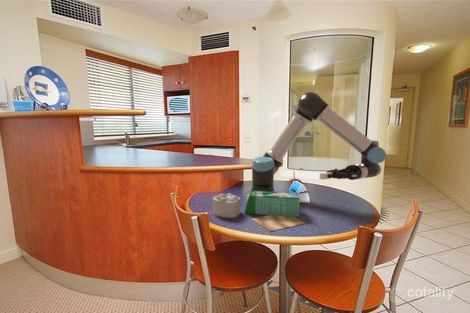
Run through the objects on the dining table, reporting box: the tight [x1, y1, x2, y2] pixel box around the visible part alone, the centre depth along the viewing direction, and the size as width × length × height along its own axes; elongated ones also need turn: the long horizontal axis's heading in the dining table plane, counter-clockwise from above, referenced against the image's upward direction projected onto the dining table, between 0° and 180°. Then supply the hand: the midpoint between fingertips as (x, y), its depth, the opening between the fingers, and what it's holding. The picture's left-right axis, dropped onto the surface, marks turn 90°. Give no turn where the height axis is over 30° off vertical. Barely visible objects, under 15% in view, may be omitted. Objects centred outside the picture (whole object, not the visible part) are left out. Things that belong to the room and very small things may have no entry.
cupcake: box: [288, 171, 303, 187], centre depth 156 cm, size 9×8×12 cm
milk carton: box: [244, 190, 300, 218], centre depth 117 cm, size 9×9×25 cm
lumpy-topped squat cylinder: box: [212, 192, 242, 219], centre depth 117 cm, size 10×13×9 cm
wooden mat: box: [251, 215, 306, 233], centre depth 107 cm, size 18×14×1 cm
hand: (320, 176), depth 115 cm, fingers closed
